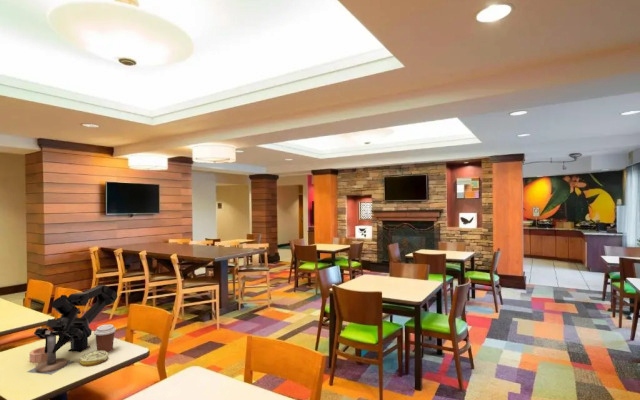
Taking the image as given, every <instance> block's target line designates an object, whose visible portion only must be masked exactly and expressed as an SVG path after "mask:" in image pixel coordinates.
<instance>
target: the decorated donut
mask: <svg viewBox="0 0 640 400" xmlns="http://www.w3.org/2000/svg"><path fill="white" fill-rule="evenodd" d="M108 357H109V353H107V352H106V351H97V350H94V351H90V352H87V353H84V354H82V355H81V356H80V357H79V363H80V364H81V365H82V366H84V367H85V366H86V367H91V366H96V365H99V364H101V363H104V362H105V361H106V360H107V359H108Z"/></svg>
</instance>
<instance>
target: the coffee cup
mask: <svg viewBox="0 0 640 400" xmlns="http://www.w3.org/2000/svg"><path fill="white" fill-rule="evenodd" d="M116 331H117V328H116V327H114V324H102V325H100V326H97V327H96V330H94V331H93V334H94V336H95V341H96V342H95V343H96V351H106V352H107V353H108V354H109V353H111V352H112V351H113V349H114V340H115V332H116Z"/></svg>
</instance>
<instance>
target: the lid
mask: <svg viewBox="0 0 640 400" xmlns="http://www.w3.org/2000/svg"><path fill="white" fill-rule="evenodd" d="M56 343H57V336H56V335H51V336H48V337H47V360H46V361H43V362H41V363H37V365H36V366H35V367H34V368H35V370H36V372H39V373H38V374H40V373H45V372H51V371H55V370H58V369H60V370H62V369H64V368H65V367H64V366H66V364H67V361H68V359H67V358H64V357H57V351H56V352H55V353H52V352H53V349H54V347H55V345H56ZM63 367H64V368H63ZM66 367H67V366H66ZM61 368H62V369H61Z"/></svg>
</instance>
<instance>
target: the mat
mask: <svg viewBox="0 0 640 400" xmlns="http://www.w3.org/2000/svg"><path fill="white" fill-rule="evenodd" d="M73 363H75V361H74V360H67V364H66V366H64V367H63V368H61V369H58V370H55V371H51V372H45V373H39V372H36V370H35V367H34V368H32V369H30V370H28V371H26V373H32V374H41V375H53V374H55V373H57V372H59V371H61V370H62V369H64V368H65V367H68V366H69V365H72V364H73Z"/></svg>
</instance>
